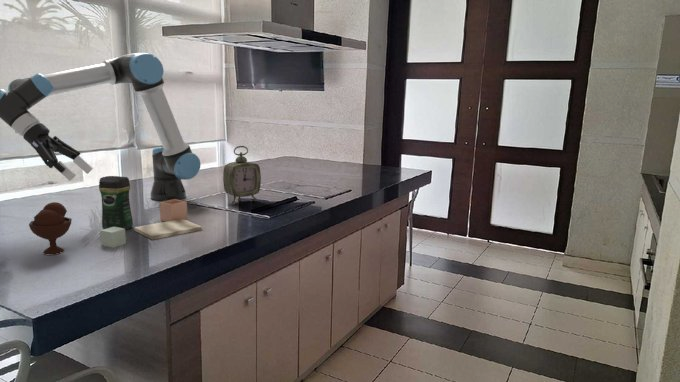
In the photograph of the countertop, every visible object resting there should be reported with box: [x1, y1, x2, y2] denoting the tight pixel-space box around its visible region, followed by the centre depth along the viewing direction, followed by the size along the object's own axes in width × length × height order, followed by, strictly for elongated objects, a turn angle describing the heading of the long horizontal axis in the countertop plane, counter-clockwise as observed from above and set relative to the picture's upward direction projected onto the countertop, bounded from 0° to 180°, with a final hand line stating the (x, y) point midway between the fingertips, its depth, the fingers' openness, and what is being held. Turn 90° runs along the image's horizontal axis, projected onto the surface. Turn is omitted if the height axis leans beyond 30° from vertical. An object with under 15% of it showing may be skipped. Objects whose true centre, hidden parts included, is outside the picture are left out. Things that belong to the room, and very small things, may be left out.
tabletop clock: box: [222, 145, 262, 206], centre depth 214 cm, size 14×9×25 cm, turn 131°
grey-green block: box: [99, 227, 127, 248], centre depth 154 cm, size 5×5×5 cm
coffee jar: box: [98, 175, 134, 230], centre depth 171 cm, size 10×8×19 cm
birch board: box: [133, 219, 203, 241], centre depth 171 cm, size 18×14×1 cm
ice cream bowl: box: [28, 201, 72, 255], centre depth 145 cm, size 11×11×15 cm
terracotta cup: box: [159, 199, 189, 222], centre depth 185 cm, size 7×7×7 cm
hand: (82, 174), depth 168 cm, fingers open, 13 cm apart
